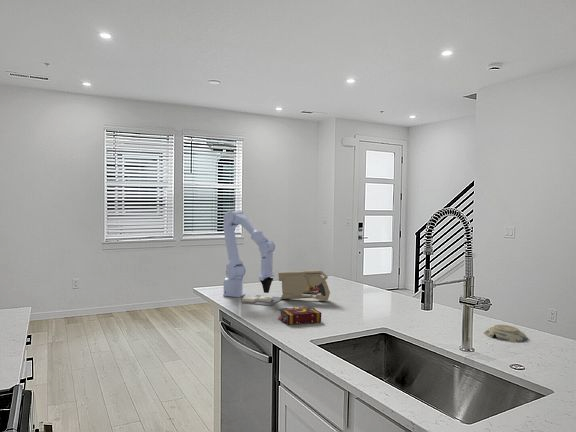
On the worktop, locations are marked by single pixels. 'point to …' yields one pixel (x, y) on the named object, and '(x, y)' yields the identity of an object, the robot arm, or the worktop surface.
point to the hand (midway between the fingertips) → (266, 292)
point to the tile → (265, 299)
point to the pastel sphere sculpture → (312, 289)
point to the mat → (275, 300)
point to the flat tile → (250, 299)
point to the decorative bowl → (506, 333)
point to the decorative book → (299, 315)
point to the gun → (303, 284)
